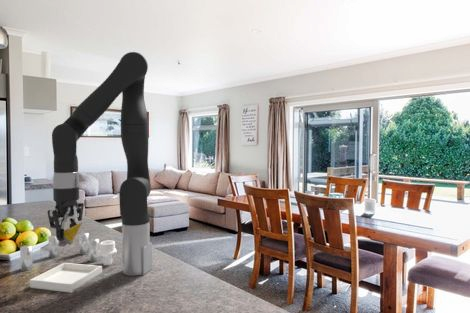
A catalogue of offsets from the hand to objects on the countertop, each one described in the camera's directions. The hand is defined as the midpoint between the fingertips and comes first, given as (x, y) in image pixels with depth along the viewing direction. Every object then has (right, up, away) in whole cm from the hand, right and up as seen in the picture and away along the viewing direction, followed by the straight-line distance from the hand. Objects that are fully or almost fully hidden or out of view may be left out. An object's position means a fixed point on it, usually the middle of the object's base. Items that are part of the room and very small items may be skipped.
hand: (67, 237), depth 108 cm
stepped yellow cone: (0, -3, +1) cm, 3 cm away
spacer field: (-9, -13, +17) cm, 23 cm away
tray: (0, -14, +1) cm, 14 cm away
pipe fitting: (+7, -14, +15) cm, 22 cm away
